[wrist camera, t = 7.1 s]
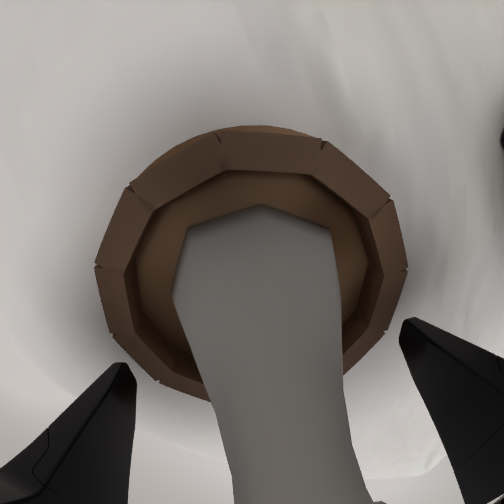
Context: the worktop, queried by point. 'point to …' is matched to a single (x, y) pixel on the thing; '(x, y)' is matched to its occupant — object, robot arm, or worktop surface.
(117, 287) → the round wooden tray
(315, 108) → the worktop surface
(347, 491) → the flask
